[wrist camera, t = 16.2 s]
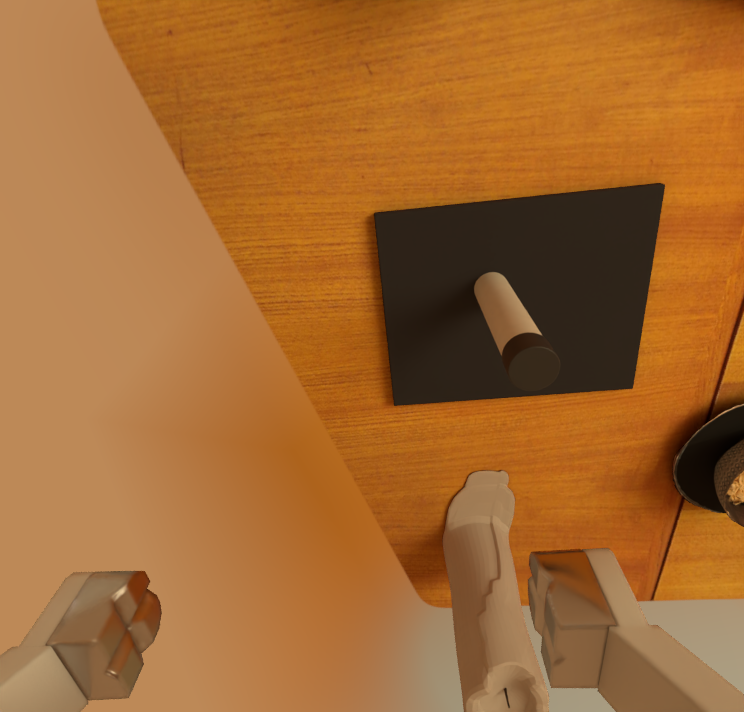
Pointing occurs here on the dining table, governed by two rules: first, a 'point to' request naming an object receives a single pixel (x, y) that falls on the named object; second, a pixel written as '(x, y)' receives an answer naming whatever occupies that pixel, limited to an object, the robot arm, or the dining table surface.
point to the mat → (517, 289)
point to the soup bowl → (714, 465)
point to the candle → (489, 601)
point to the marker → (516, 335)
